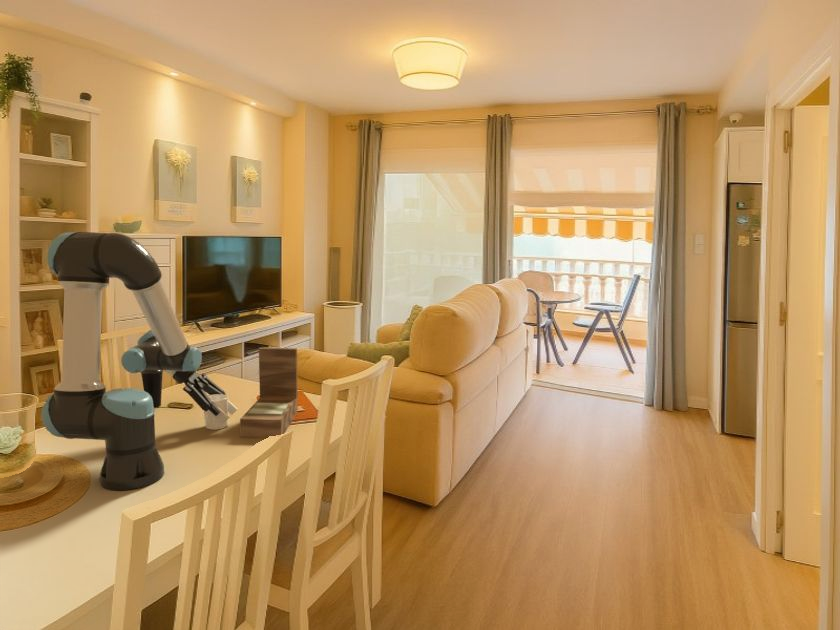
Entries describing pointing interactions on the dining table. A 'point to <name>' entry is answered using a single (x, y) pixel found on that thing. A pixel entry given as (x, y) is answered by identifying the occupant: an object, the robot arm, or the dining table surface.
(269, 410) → the walnut shelf
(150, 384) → the drinking cup
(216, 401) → the white cup
